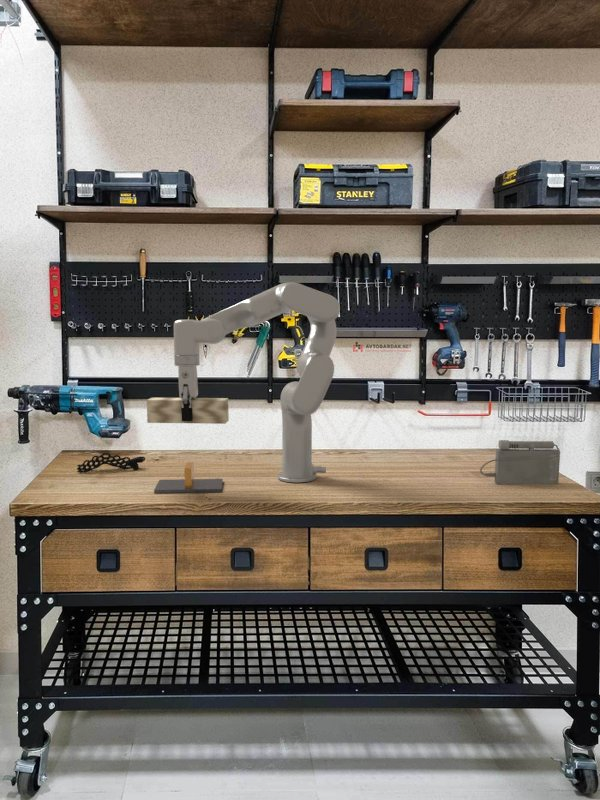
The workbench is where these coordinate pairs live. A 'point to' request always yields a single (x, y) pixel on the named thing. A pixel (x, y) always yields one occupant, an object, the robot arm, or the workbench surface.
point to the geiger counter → (526, 463)
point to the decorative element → (111, 462)
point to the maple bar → (201, 410)
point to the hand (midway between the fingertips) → (188, 418)
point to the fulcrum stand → (189, 483)
